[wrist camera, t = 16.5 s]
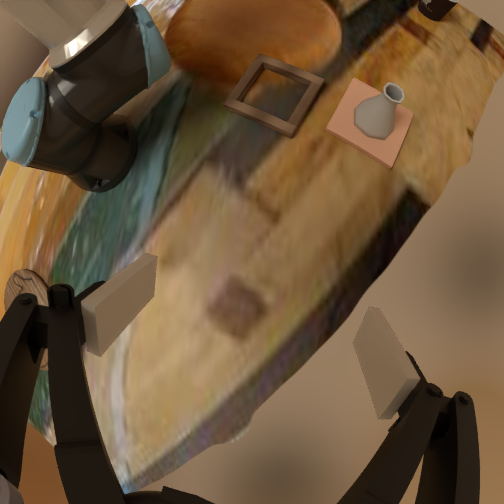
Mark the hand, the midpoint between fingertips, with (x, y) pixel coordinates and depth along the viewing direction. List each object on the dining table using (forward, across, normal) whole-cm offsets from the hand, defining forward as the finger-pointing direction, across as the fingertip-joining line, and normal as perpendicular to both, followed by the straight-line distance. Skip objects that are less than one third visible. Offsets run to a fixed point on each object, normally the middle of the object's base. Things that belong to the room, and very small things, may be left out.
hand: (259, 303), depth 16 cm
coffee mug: (+40, +26, +62) cm, 78 cm away
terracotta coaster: (+30, +12, +20) cm, 38 cm away
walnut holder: (+32, -4, +20) cm, 38 cm away
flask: (+29, +12, +20) cm, 38 cm away
